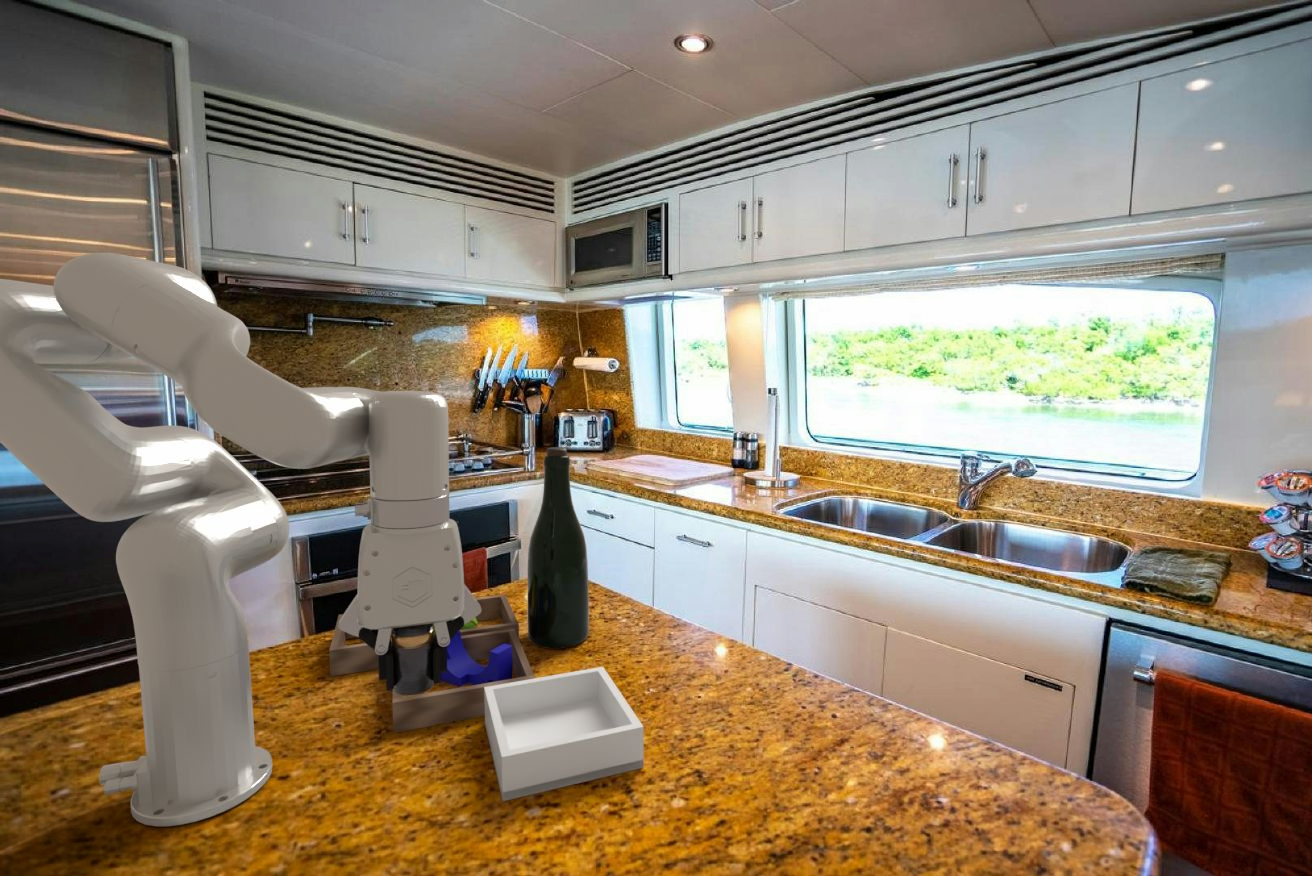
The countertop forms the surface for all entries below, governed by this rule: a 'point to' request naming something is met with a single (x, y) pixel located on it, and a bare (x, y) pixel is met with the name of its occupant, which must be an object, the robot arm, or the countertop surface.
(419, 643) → the battery cell
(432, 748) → the countertop surface
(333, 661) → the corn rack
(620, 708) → the bin
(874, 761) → the countertop surface
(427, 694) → the brown hollow square frame
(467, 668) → the cable clip
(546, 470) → the dark green wine bottle
